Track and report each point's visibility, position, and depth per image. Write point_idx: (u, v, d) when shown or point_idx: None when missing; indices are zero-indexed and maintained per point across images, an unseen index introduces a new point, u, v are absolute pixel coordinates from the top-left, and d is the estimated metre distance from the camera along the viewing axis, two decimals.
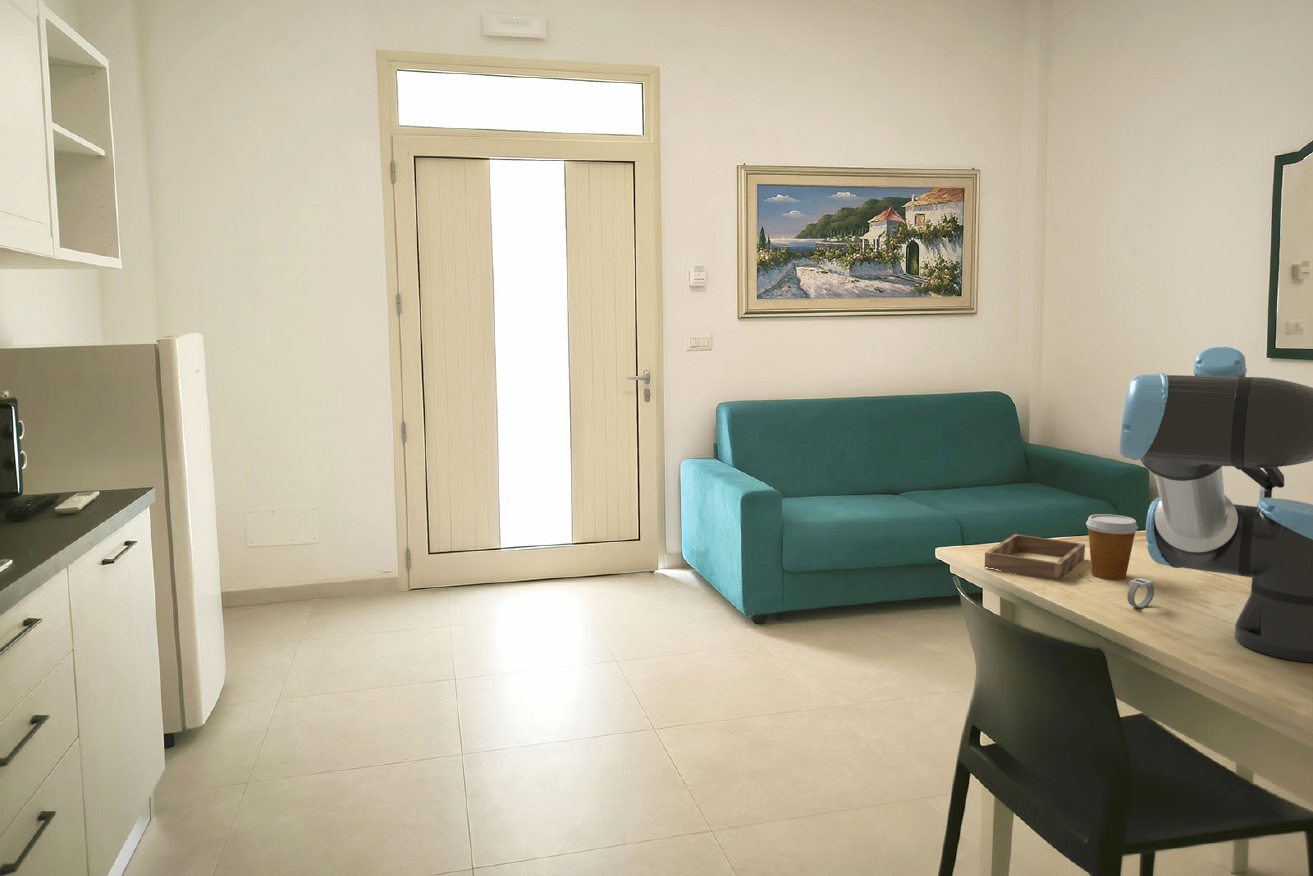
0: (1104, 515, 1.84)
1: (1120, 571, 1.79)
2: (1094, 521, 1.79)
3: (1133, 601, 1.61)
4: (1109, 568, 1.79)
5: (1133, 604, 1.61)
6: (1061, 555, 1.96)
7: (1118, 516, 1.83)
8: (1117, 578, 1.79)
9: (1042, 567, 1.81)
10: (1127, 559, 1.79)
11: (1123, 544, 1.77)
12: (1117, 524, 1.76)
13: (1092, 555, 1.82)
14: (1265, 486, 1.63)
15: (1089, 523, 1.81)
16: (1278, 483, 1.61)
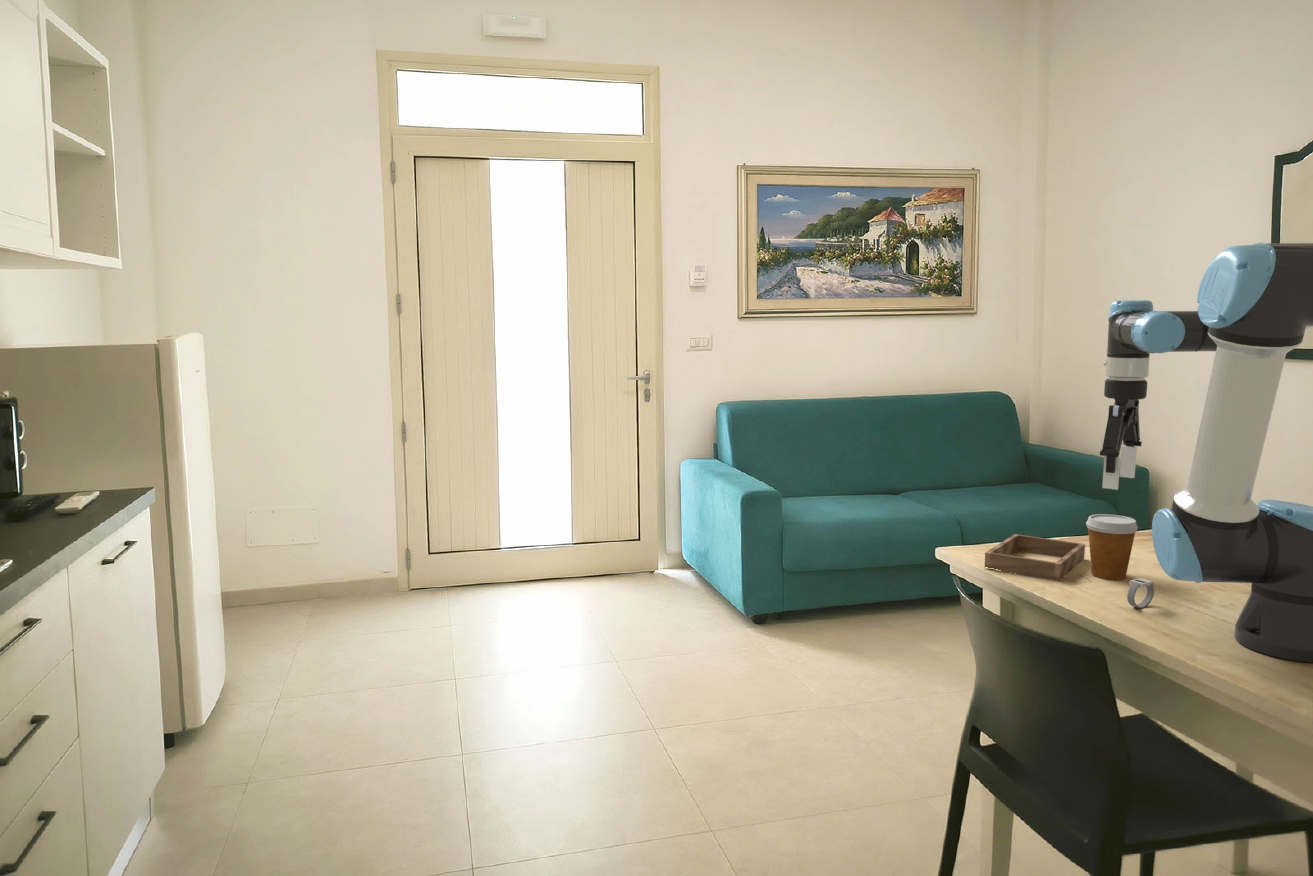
0: (1104, 515, 1.84)
1: (1120, 571, 1.79)
2: (1094, 521, 1.79)
3: (1133, 601, 1.61)
4: (1109, 568, 1.79)
5: (1133, 604, 1.61)
6: (1061, 555, 1.96)
7: (1118, 516, 1.83)
8: (1117, 578, 1.79)
9: (1042, 567, 1.81)
10: (1127, 559, 1.79)
11: (1123, 544, 1.77)
12: (1117, 524, 1.76)
13: (1092, 555, 1.82)
14: (1136, 442, 1.83)
15: (1089, 523, 1.81)
16: (1139, 436, 1.84)
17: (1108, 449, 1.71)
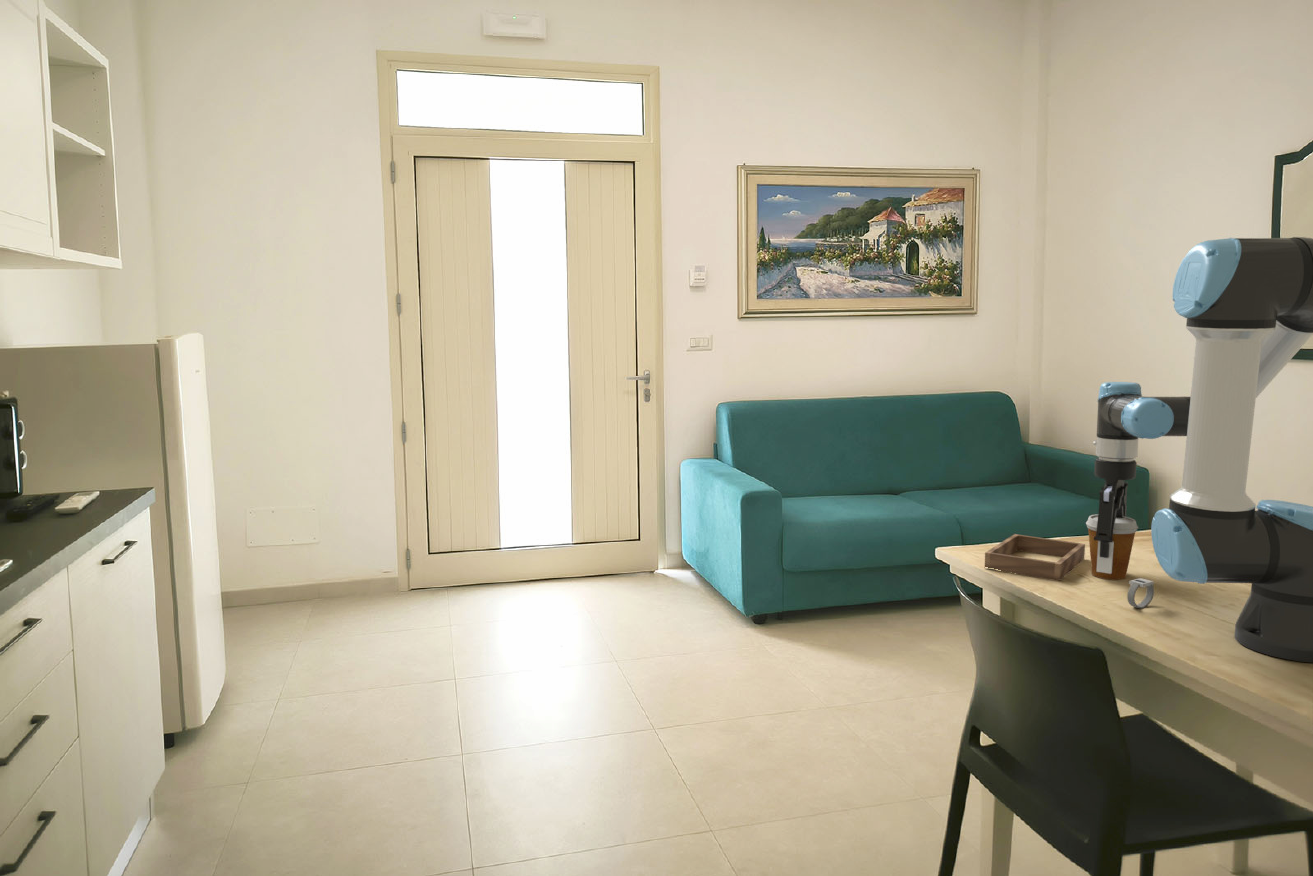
0: None
1: (1120, 571, 1.79)
2: (1094, 521, 1.79)
3: (1133, 601, 1.61)
4: None
5: (1133, 604, 1.61)
6: (1061, 555, 1.96)
7: None
8: (1117, 578, 1.79)
9: (1042, 567, 1.81)
10: (1127, 559, 1.79)
11: (1123, 544, 1.77)
12: (1117, 524, 1.76)
13: (1092, 555, 1.81)
14: None
15: (1089, 523, 1.81)
16: None
17: (1102, 535, 1.75)
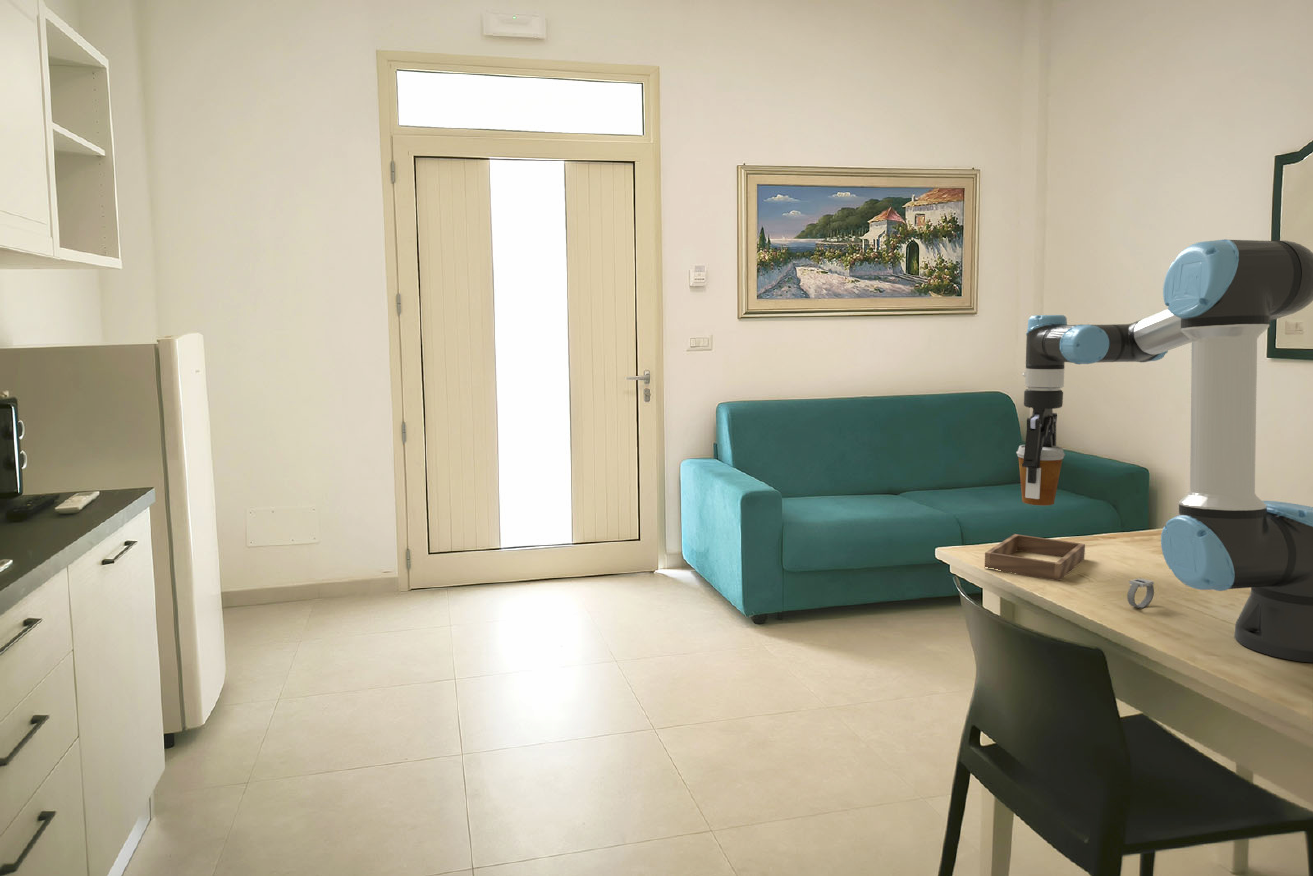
0: None
1: (1047, 497, 1.86)
2: (1023, 449, 1.87)
3: (1133, 601, 1.61)
4: None
5: (1133, 604, 1.61)
6: (1061, 555, 1.96)
7: None
8: (1045, 504, 1.86)
9: (1042, 567, 1.81)
10: (1054, 485, 1.86)
11: (1049, 470, 1.84)
12: (1044, 451, 1.84)
13: (1022, 482, 1.89)
14: None
15: (1019, 451, 1.88)
16: None
17: (1029, 461, 1.82)
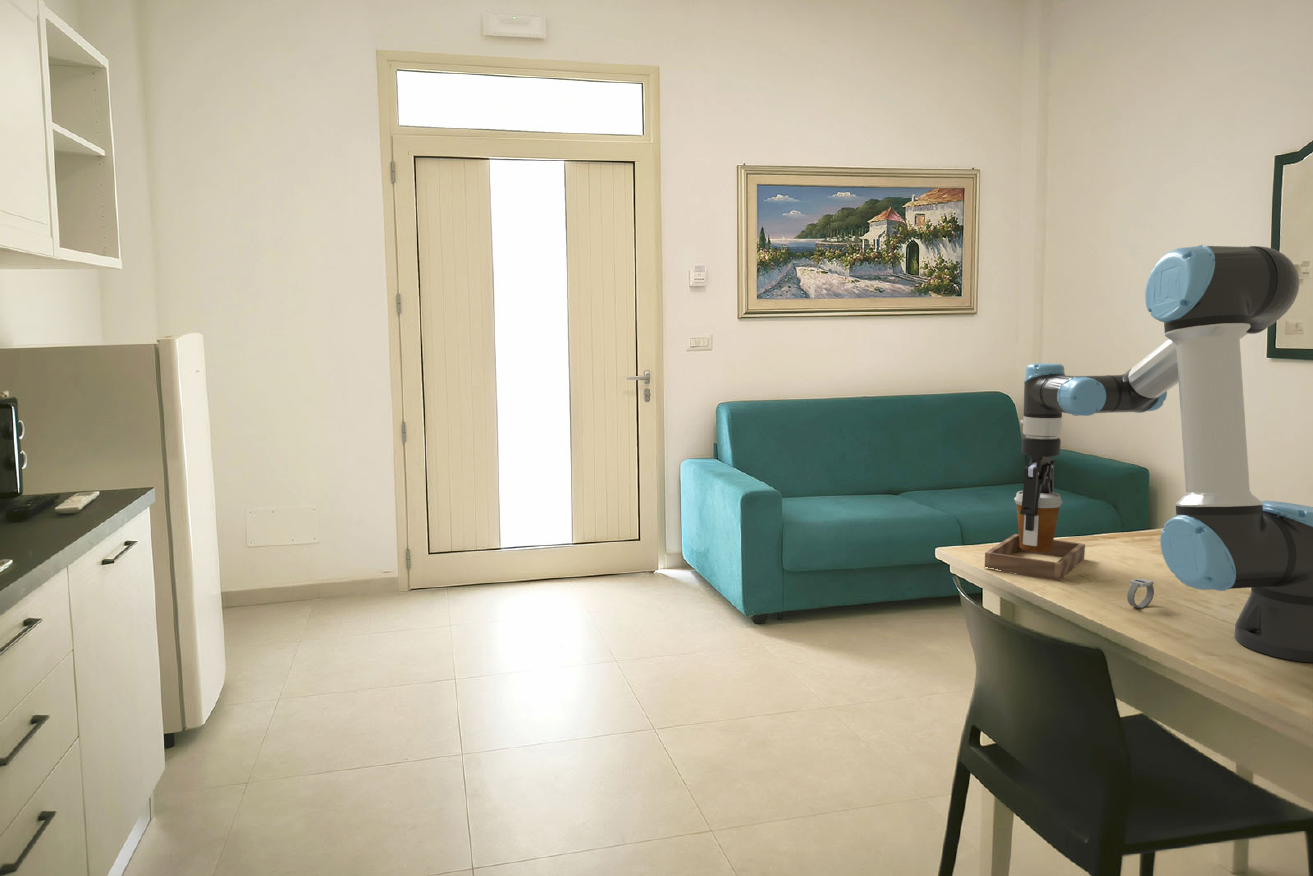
0: None
1: (1045, 544, 1.87)
2: (1021, 496, 1.88)
3: (1133, 601, 1.61)
4: None
5: (1133, 604, 1.61)
6: (1061, 555, 1.96)
7: None
8: (1043, 551, 1.88)
9: (1042, 567, 1.81)
10: (1052, 532, 1.87)
11: (1047, 518, 1.86)
12: (1041, 499, 1.85)
13: (1020, 529, 1.90)
14: None
15: (1016, 498, 1.89)
16: None
17: (1027, 509, 1.84)
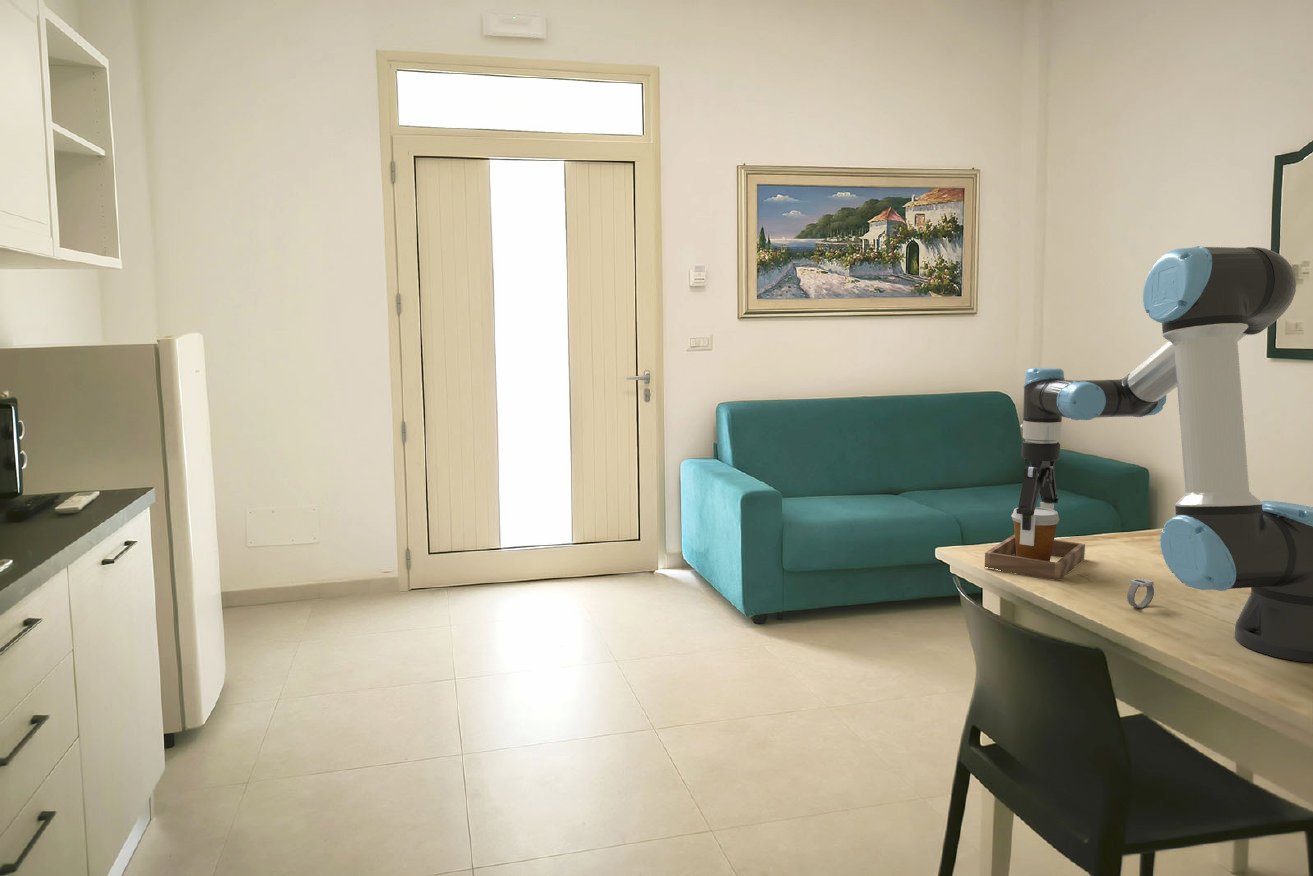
0: None
1: None
2: None
3: (1133, 601, 1.61)
4: None
5: (1133, 604, 1.61)
6: (1061, 555, 1.96)
7: (1042, 508, 1.91)
8: None
9: (1042, 567, 1.81)
10: (1049, 550, 1.86)
11: (1044, 535, 1.85)
12: (1039, 516, 1.84)
13: (1017, 546, 1.89)
14: (1053, 499, 1.94)
15: (1014, 515, 1.89)
16: (1056, 494, 1.96)
17: (1023, 508, 1.82)
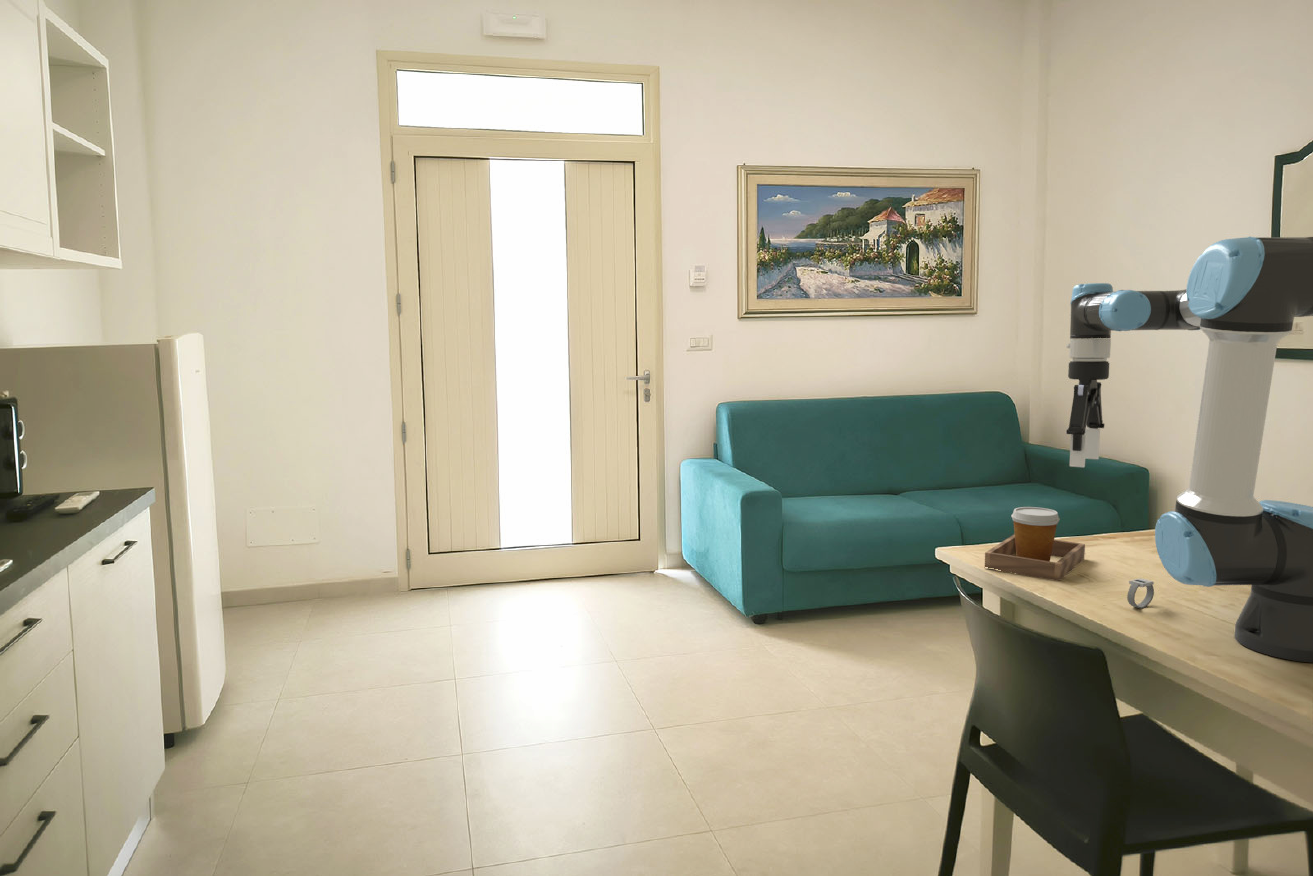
0: (1029, 508, 1.92)
1: None
2: (1018, 513, 1.87)
3: (1133, 601, 1.61)
4: None
5: (1133, 604, 1.61)
6: (1061, 555, 1.96)
7: (1042, 509, 1.91)
8: None
9: (1042, 567, 1.81)
10: (1049, 550, 1.86)
11: (1044, 535, 1.85)
12: (1039, 516, 1.84)
13: (1017, 546, 1.89)
14: (1099, 424, 1.88)
15: (1014, 515, 1.89)
16: (1101, 419, 1.89)
17: (1075, 427, 1.75)
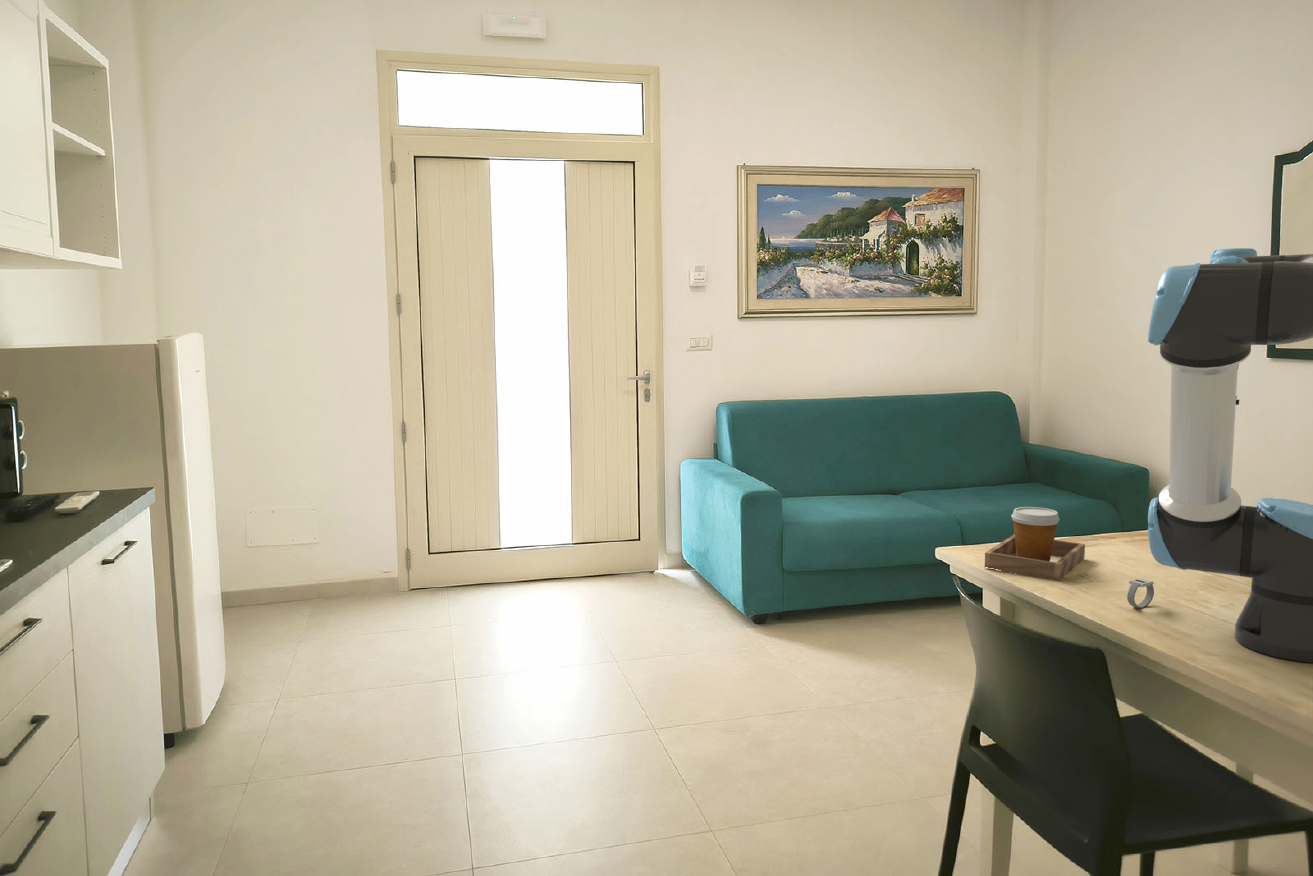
0: (1029, 508, 1.92)
1: None
2: (1018, 513, 1.87)
3: (1133, 601, 1.61)
4: None
5: (1133, 604, 1.61)
6: (1061, 555, 1.96)
7: (1042, 509, 1.91)
8: None
9: (1042, 567, 1.81)
10: (1049, 550, 1.86)
11: (1044, 535, 1.85)
12: (1039, 516, 1.84)
13: (1017, 546, 1.89)
14: None
15: (1014, 515, 1.89)
16: (1235, 395, 1.77)
17: None
